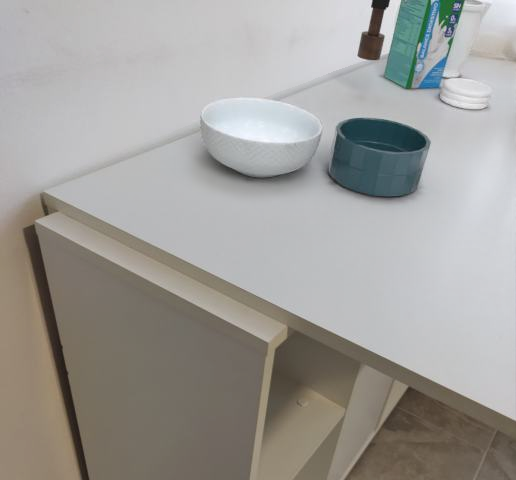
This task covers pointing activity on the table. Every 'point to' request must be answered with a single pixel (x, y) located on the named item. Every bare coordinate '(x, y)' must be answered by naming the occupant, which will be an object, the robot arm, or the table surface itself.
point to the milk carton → (422, 42)
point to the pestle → (372, 37)
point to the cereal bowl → (259, 135)
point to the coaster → (465, 93)
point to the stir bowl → (378, 156)
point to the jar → (464, 37)
